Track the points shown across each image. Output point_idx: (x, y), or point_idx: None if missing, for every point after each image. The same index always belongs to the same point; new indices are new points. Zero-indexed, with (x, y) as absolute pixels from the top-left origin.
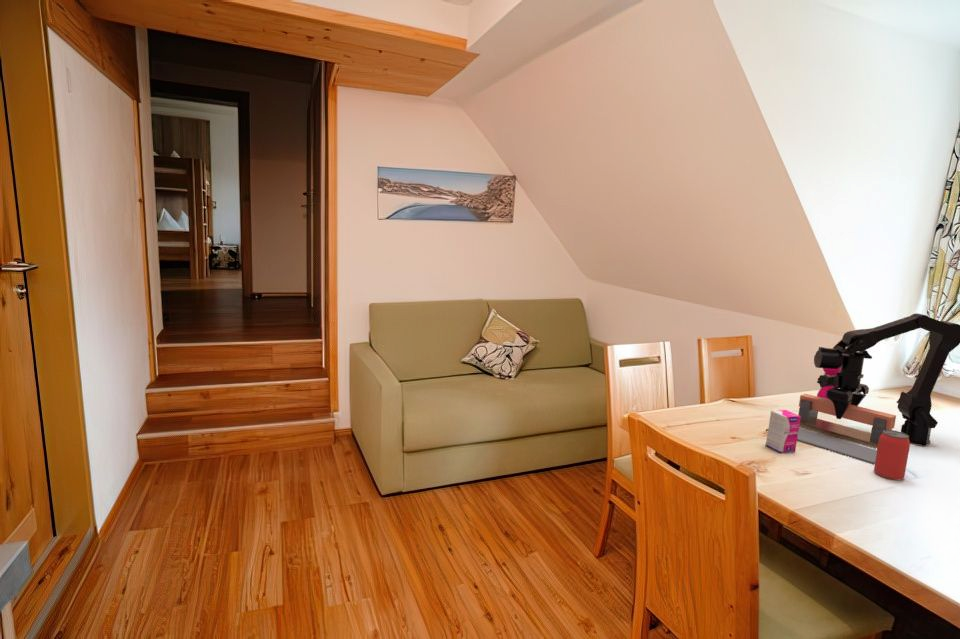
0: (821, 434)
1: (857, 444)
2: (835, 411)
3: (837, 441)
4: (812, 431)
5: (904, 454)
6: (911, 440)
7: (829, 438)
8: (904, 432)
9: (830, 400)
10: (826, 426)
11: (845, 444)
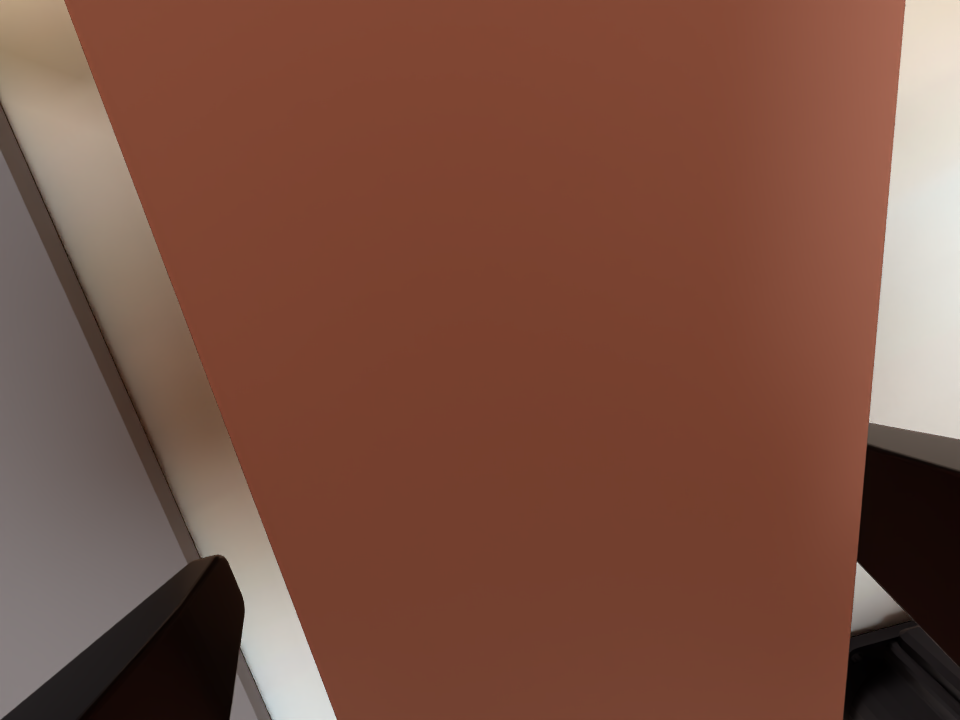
0: (63, 347)
1: (238, 673)
2: (24, 707)
3: (64, 570)
4: (23, 209)
5: None
6: (854, 715)
7: (44, 480)
8: (935, 703)
9: (712, 164)
10: None
11: (78, 650)
